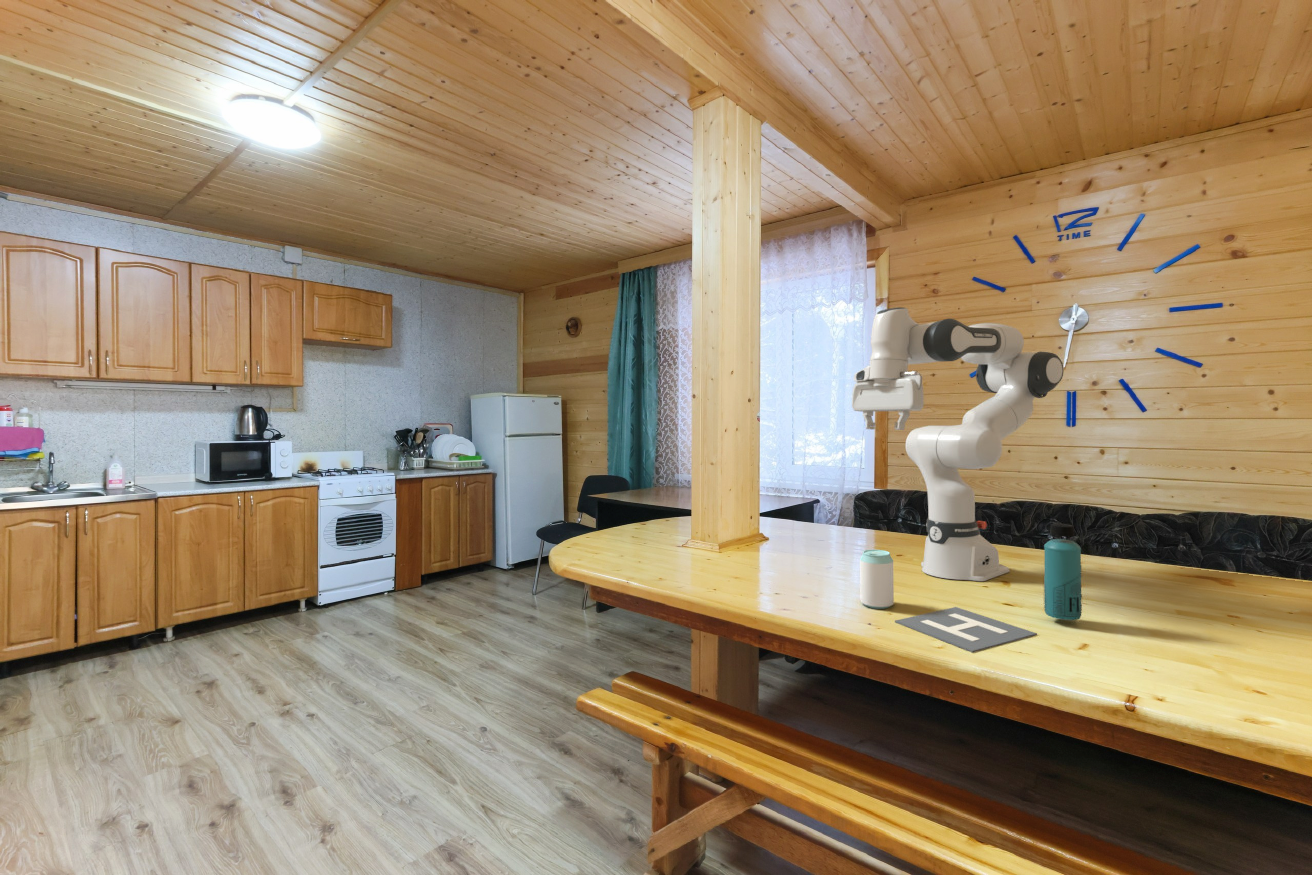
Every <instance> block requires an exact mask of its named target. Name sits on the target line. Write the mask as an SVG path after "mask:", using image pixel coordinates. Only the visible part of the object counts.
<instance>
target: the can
mask: <svg viewBox="0 0 1312 875" xmlns="http://www.w3.org/2000/svg"><path fill="white" fill-rule="evenodd" d="M891 556H892V555H891V553H890V552H889V551H887V550H882V549H865V550H863V551H862V555H861V556H860V558H859V581H860V582H859V589H860V590H859V596H860V600H859V602H861V604H862V605H864V606H865V607H867V608H870V609H875V610H884V609H885V610H886V609H888V608H890V607H892V606H893V605H894V601H895V600H894V599H895V598H894V560H893V558H892V557H891Z"/></svg>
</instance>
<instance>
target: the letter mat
mask: <svg viewBox="0 0 1312 875" xmlns="http://www.w3.org/2000/svg"><path fill="white" fill-rule="evenodd" d="M894 623H896V624H899V625H901V626H904V627H906V628H909V629H911V630H915V631H917V632H919V633H921V634H924V635H927V636H929V637H932V638H934V639H937V640H939V641H941V642H944V643H947V644H950V645H952V646H955V647H957V648H958V649H959V648H960V649H962V650H965V651H967V652H970V653H975V652H980V651H984V650H987V649H990V648H993V647H997V646H1002V645H1005V644H1008V643H1012V642H1016V641H1019V640H1024V639H1027V638H1031V637H1034V636H1037V635H1038V633H1037V632H1034V631H1032V630H1031V631H1030V630H1028V629H1025V628H1021V627H1018V626H1015V625H1013V624H1009V623H1007V622H1003V621H1000V620H997V619H994V618H991V617H988V616H985V615H982V614H978V613H975V612H973V611H970V610H966V609H963V608H961V607H957V606H953V607H950V608H945V609H940V610H936V611H931V612H927V613H923V614H918V615H914V616H909V617H905V618H900V619H896V620H894Z"/></svg>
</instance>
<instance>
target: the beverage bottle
mask: <svg viewBox="0 0 1312 875" xmlns="http://www.w3.org/2000/svg"><path fill="white" fill-rule="evenodd" d="M1049 534H1050V535H1052V536H1054V537H1055V536H1056V537H1067V538H1069V537H1070V538H1071V537H1074V536H1075V526H1074V525H1073V524H1069V523H1068V524H1067V523H1051V524H1050V529H1049ZM1043 550H1044V575H1043V602H1044V604H1043V605H1044V606H1043V609H1044V613H1045V614H1046V616H1049V617H1052V618H1055V619H1058V620H1064V621H1077V620H1081V617H1082V614H1083V605H1082V598H1083V594H1082V577H1083V575H1082V566H1083V564H1082V561H1081V560H1082V559H1081V557H1082V548H1081V546H1080V545H1079V544H1078V543H1077V542H1076V541H1073V540H1070V539H1061V538H1058V539H1057V538H1054V539H1050V540H1048V541H1047V542H1046V543H1045V544H1044V545H1043Z"/></svg>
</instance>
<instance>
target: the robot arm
mask: <svg viewBox="0 0 1312 875" xmlns="http://www.w3.org/2000/svg"><path fill="white" fill-rule="evenodd" d="M908 309H909V308H906V307H900V306H899V307H891V308H886V309H882V310H879V311H878V312H876V314H875V316H874V318H873V322H872V326H871V337H870V347H871V355H870V357H869V364H868V365H867V366H866V367H864V368H862V369H860V370H858V371H856V372H855V373H854V374H853V380H854V382H855V384H853V388H852V394H851V395H852V396H851V408H852V409H853V411H855V412H862V417H863V418H864V421H865V430H876V422H874V420H873V416H874V412H898V415H899V417H898V420H897V421H896V422H895V421H894V430H895V431H904V430H905V428H906V422H907V421H908V419H909V418H910V414H911V411H913V412H915V411H916V412H917V411H918V412H919V411H921V410H922V409H923V407H924V405H925V404H924V402H925V399H924V398H925V397H924V386H923V376H922V375H921V373H920V372H918V371H917V370H912V371H908V368H909V367H908V366H909V365H922V364H929V363H940V362H942V363H943V362H955V361H957V360H959V359H961V360H962V362H966V363H969V364H972V365H977V368H976V372H975V379H976V383H977V384H978V386H979V388H980V389H981V390H982V391H984V392H987V393H991V394H994V395H993V396H992V397H989V398H987V399H986V400H984V401H983V402H981V403H979V404H978V405H977V406H974V407H973V408H971V409H970V410H968V411H966V413H965V414H964V415H963V417H962V422H961V424H955V425H926V426H921V427H917V428H914V429H913V430H911V431H910V432H909V434H907V437H906V439H905V446H904V447H905V451H906V455H907V456H908V457H909V459H910V460H911V461H912V462H913V463H914V464H915V465H916V466H917V467H918V469H919V471H920V473H921V475H922V477H923V480H924V483H925V486H926V492H927V493H926V494H927V506H928V507H927V509H928V511H927V513H928V517H927V518H926V524H925V525H926V532H927V536H926V538H925V544H924V554H923V560H922V561H921V564H920V566H921V567H922V568H921V570H922V572H923V573H924V574H927V575H929V576H932V577H937V578H941V579H942V578H943V579H947V580H965V581H975V582H976V581H977V582H985V581H988V580H991V579H993V578H996V577H999V576H1002V575H1004V574H1007V573H1010V568H1009V566H1006V565H1004V564H1001V563H1000V558H999V552H998V549H997V547H996V546H994V545H993V544H992V543H990V541H988V540H987V539H985V537H983V535H981V532H980V529H981V530H985V529H986V528H987V526H988V524H987V521H983V520H976V516H975V515H976V504H975V503H976V495H975V494H976V493H975V491H974V489H973V488H972V487H971V486H970V485H969V484H968V483H967V482H965V480H963V478H962V477H961V475H960V473H959V470H958V469H962V470H963V469H964V470H977V469H987V468H991V467H994V466H995V465H996V464H997V463H998V462H999V460H1000V458H1001V456H1002V454H1003V443H1002V442H1003V441H1002V440H1004V439H1006V438H1007V437H1008V436H1010V435H1011V434H1013V433H1015V432H1016V431H1017V430H1018V429H1020V428H1021V427H1022V426H1023V425H1024V424H1025V423H1026V422H1027V421H1028V420H1029V419H1030V417H1031V416H1032V414H1033V412H1034V403H1033V401H1034V399H1036V398H1037V399H1044V398H1045V397H1046V396H1047V394H1048V393H1049V392H1051V391H1052V390H1054V389H1055V388H1056V387H1057V386H1058V385H1059V384H1060V382H1061V381H1062V380H1063V376H1064V365H1063V361H1062V360H1061V358H1060V357H1059V355H1058V354H1056V353H1054V352H1049V351H1036V352H1032V351H1031V352H1029V351H1028V352H1023V349H1024V344H1025V340H1024V339H1025V338H1024V336H1023V334H1022V333H1021V331H1020V330H1019V329H1017V327H1014V326H1010V325H1008V324H1004V323H1003V324H1002V323H993V322H992V323H991V322H984V323H983V322H982V323H977V324H976V323H975V324H971V325H965V324H964V323H962V322H961V321H959V320H957V319H955V318H946V319H942V320H938V321H937V320H936V321H933V322H928V323H927V322H926V323H923V324H920V323H918V322H916V321H915V320H913V318H912V317H911V316H910V314H909V310H908Z"/></svg>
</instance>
